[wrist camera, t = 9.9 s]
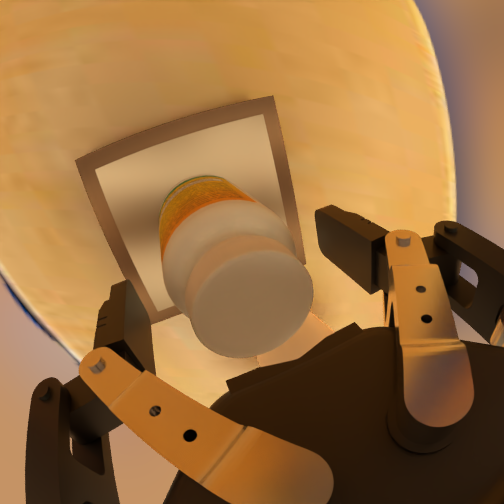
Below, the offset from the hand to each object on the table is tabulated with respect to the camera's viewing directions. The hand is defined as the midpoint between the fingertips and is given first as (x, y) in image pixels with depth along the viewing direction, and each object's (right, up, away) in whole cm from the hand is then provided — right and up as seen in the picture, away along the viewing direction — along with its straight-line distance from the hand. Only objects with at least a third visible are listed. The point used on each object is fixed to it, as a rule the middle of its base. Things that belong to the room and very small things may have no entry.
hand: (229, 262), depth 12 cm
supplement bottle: (-2, +3, +6) cm, 7 cm away
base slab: (-3, +4, +9) cm, 11 cm away
